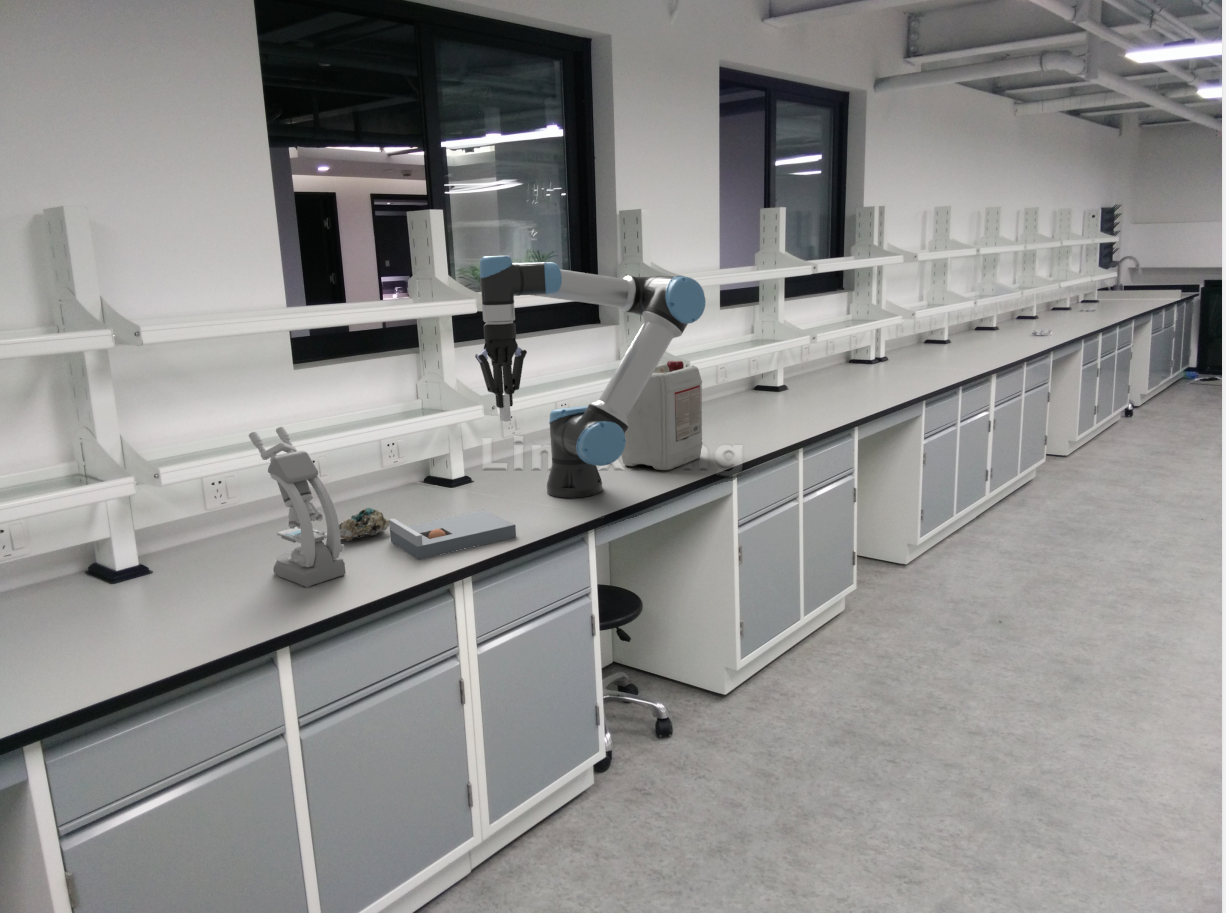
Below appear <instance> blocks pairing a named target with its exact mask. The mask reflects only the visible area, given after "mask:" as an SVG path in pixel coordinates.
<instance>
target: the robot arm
mask: <svg viewBox="0 0 1226 913" xmlns="http://www.w3.org/2000/svg"><path fill="white" fill-rule="evenodd" d="M479 282H480V291H481V292H480V293H481V294H480V295H481V308H482V321H483V322H484V325H483V337H484V345H483V350H482V351H481V352H480V353H476V354H475V356H474V357H475V359H476V360H477V361H478V363H479V365H480V370H481V372H482V375H483V379H484V382H485V386H486V389H487V392H488V393H491V394H492V393H493V394H494V395H495V405H496V408H498V409H499V420H500V421H502V422H511V421H512V416H511V407H513V405H514V401H513V398H514V397H513V395H514V394H515V392H516V391H519V389H520V387H521V386H520V385H521V378H522V372H523V368H524V367H523V365H524V359H525V358H526V355H527V354H528V352H527V350H526V349H523V348H520V347H519V346H518V342H517V341H516V339H517V338H516V337H517V330H516V328H517V327H516V323H515V322H514V321H515V320H516V315H515V314H516V312H515V297H519V296H534V297H535V296H536V297H542V298H549V299H557V300H564V301H571V302H577V303H578V302H579V303H586V304H593V305H601V306H608V307H614V308H618V309H619V310H620V311H621V312H625V313H629V314H630V313H631V314H635V315H639V316H642V318H643V323H642V325H641V326H640V328H639V330H638V332H637V334H636V335H635V337H634V338H633V340H632V342H631V343H630V346H629V347H628V349H627V350H626V352H625V354H624V356H623V357H622V358H621V360H620V363H619V364H618V366H617V368H616V369H615V371H614V373H613V374H612V376H611V379H610V380H609V382H608V383H607V385H606V387H605V389H604V391H603V392H602V393H601V395H600V397H599V399H598V400H597V401H593V402H590V403H589V404H588V405H585V406H584V405H583V406H572V407H571V406H570V407H564V408H556V409H553V410H551V411H550V414H549V422H548V424H549V431H550V432H549V434H550V436H549V437H550V449H551V450H550V451H551V467H550V471H549V475H548V479H547V482H546V493H547V495H549V496H553V497H556V498H557V497H558V498H568V499H569V498H570V499H575V498H576V499H577V498H583V497H584V498H585V497H589V496H594V495H597V494H599V493H601V492H602V491H603V481H602V478H601V475H600V472H599V470H598V466H599V467H603V466H604V467H605V466H608V465H611V464H613V463H614V462H616V461H617V460H618V459H619V458H620V457H622V456H621V454H622V453H623V451H624V448H625V444H626V441H625V432H626V430H627V429H628V427H629V424H628V421H627V417H628V415H629V413H630V411H631V410H632V408H633V406H634V405H635V403H636V401H637V399H638V398H639V396H640V394H641V392H642V391H643V389H644V387H645V385H646V384H647V382H648V380H649V379H650V377H651V375H652V373H653V372H654V370H655V368H656V366H657V365H658V364H660V361H661V359H662V358H663V356H664V354H665V353H666V351H667V349H668V347H669V346H670V344H671V342H672V340H674V339H676V338H678V337H681V336H682V335H683V334H684V332H685V329H686V328H687V326H688V325H689V324H693V323H695V322H697V321H699V319H700V318H701V317H702V315H703V314H704V312H705V308H706V297H705V291H704V289H703V287H702V286H701V284H700V283H699V281H697V280H696V279H694V278H692V277H688V276H684V275H676V276H675V275H674V276H670V275H653V276H633V275H625V276H624V277H623V278H621V277H613V276H607V275H602V274H600V275H599V274H594V273H589V272H586V273H585V272H580V271H573V270H566V269H561V268H560V266H559V264H557V263H556V262H551V261H549V262H548V261H544V262H543V261H542V262H515V261H512V257H511V256H510V255H492V256H491V255H489V256H483V257H481V258H480V260H479ZM514 355H515V356H514ZM513 357H514V359H513ZM489 359H490V360H491V365H490V363H489V361H488V360H489ZM491 366H492V370H491ZM512 366H513V367H512Z"/></svg>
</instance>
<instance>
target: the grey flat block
mask: <svg viewBox="0 0 1226 913" xmlns="http://www.w3.org/2000/svg"><path fill="white" fill-rule="evenodd" d="M388 521H389V534H390V536H389V537H390V543H392V544H393V545H395V546H396V547H398V548H399V549H401V550H403V551H404V552H406V553H408V554H409V555H410V556H412V557H413V558H415V559H417V560H418V561H419V560H423V559H424V560H425V559H428V558H433V557H437V556H441V555H440V554H442V555H445V554H444V553H446V554H449V553H448V552H450V553H453V552H452V551H454V552H457V551H456V550H459V551H461V550H460V549H463V550H465V549H464V548H467V549H470V548H469V547H471V548H474V547H473V546H476V547H479V546H478V545H480V546H483V545H482V544H484V545H488V544H492V543H497V542H499V541H500V542H501V541H505V540H509V539H514V538H516V537H517V531H516V529H517V528H516V527H517V526H516V523H513V522H511V521H508V520H507V519H505V518H503V517H500V516H498V515H496V514H494V513H492V512H490V511H488V510H485V509H481V510H475V511H471V512H467V513H463V514H462V513H461V514H456V515H451V516H446V517H443V518H439V519H433V520H428V521H424V522H419V523H413V524H409V525H406V524H404V523H402V522H401V521H400V520H397V519H396V518H390V519H388ZM434 529H441V530H443V531H444V532H445V534H446V536H441V537H437V538H432V539H429V538H428V536H429V534H430V532H431V531H432V530H434ZM513 537H514V538H513ZM496 541H497V542H496ZM487 543H488V544H487ZM436 555H437V556H436Z"/></svg>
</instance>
